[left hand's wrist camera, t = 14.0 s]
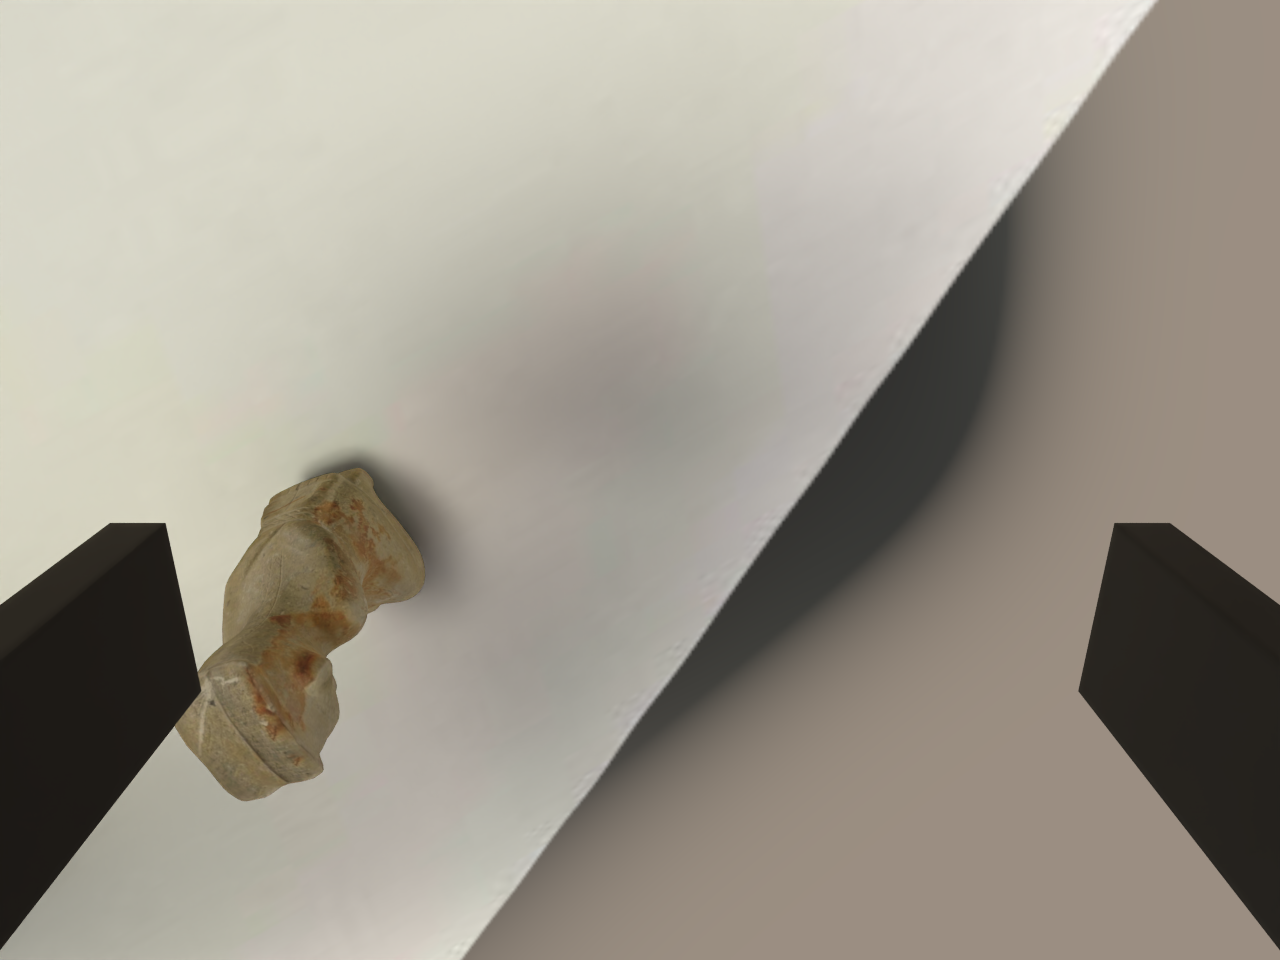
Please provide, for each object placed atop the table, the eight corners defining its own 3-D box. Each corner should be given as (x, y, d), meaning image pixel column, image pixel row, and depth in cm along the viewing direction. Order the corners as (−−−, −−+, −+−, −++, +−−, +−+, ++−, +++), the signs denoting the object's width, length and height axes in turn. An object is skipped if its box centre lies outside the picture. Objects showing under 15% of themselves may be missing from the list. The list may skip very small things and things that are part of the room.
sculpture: (341, 608, 43) (199, 836, 29) (269, 478, 41) (77, 660, 27) (450, 571, 43) (358, 788, 29) (384, 437, 40) (249, 603, 26)
